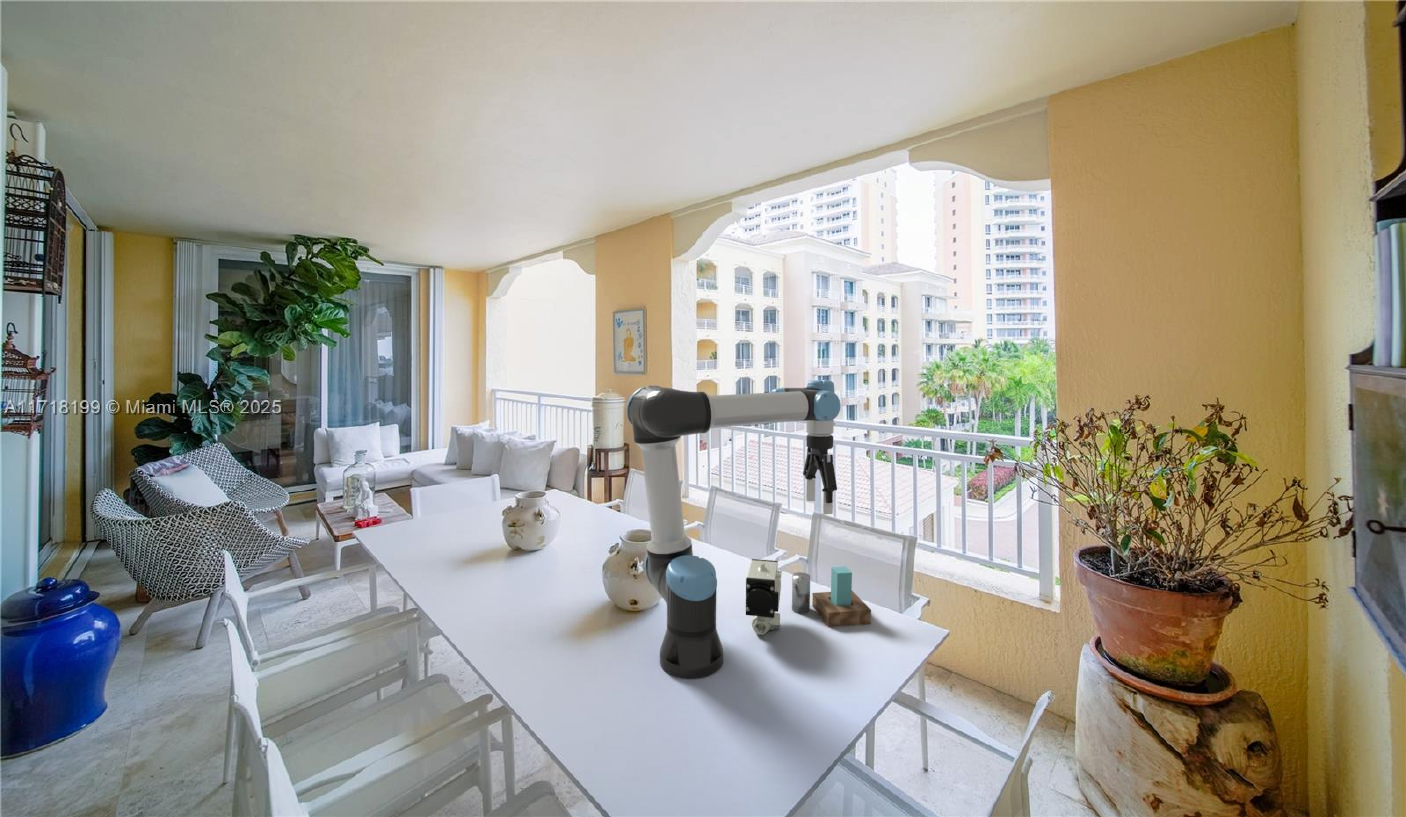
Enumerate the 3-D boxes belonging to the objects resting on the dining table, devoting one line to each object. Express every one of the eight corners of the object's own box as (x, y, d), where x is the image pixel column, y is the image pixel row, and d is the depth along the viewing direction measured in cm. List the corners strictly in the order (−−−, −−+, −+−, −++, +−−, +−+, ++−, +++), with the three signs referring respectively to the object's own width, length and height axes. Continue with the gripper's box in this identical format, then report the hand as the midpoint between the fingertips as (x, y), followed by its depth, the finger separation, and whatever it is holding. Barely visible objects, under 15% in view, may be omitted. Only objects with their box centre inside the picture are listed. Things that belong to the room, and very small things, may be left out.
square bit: (836, 619, 142) (837, 573, 141) (830, 611, 146) (831, 567, 145) (850, 617, 143) (852, 572, 142) (844, 610, 147) (845, 566, 146)
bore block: (828, 627, 138) (828, 612, 137) (812, 606, 150) (812, 592, 149) (870, 623, 139) (871, 609, 139) (851, 603, 151) (851, 590, 151)
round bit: (795, 614, 145) (795, 580, 144) (789, 606, 150) (790, 572, 149) (812, 613, 145) (812, 578, 145) (806, 605, 150) (806, 571, 149)
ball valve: (778, 648, 128) (779, 578, 126) (744, 644, 129) (745, 575, 128) (782, 613, 145) (783, 552, 144) (752, 610, 147) (752, 550, 145)
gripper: (851, 440, 136) (849, 519, 138) (816, 428, 160) (815, 495, 162) (823, 441, 135) (822, 520, 136) (793, 429, 159) (792, 496, 161)
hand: (818, 507), depth 149 cm, fingers open, 13 cm apart
